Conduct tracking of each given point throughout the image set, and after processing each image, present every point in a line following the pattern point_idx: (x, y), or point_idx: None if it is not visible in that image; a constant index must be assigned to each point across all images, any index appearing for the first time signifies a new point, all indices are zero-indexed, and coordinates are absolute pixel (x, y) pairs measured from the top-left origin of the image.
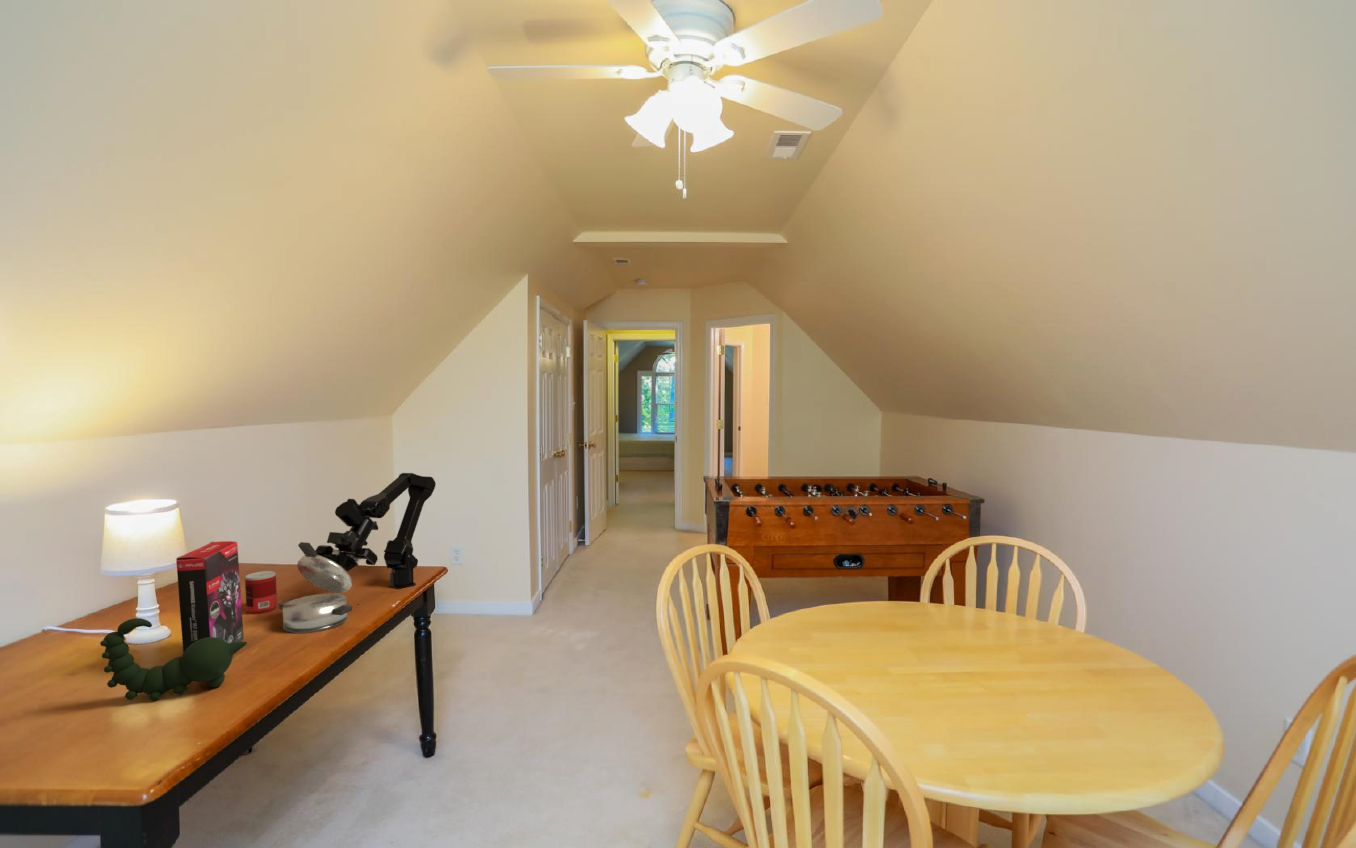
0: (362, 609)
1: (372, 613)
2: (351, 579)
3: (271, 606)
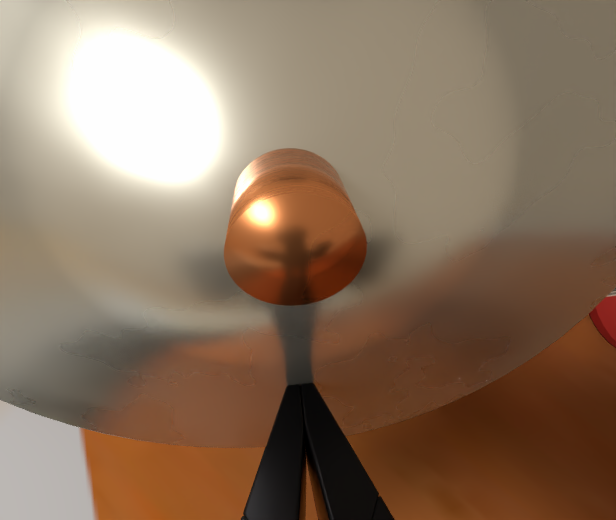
0: (230, 488)
1: (135, 458)
2: (4, 398)
3: (604, 307)
